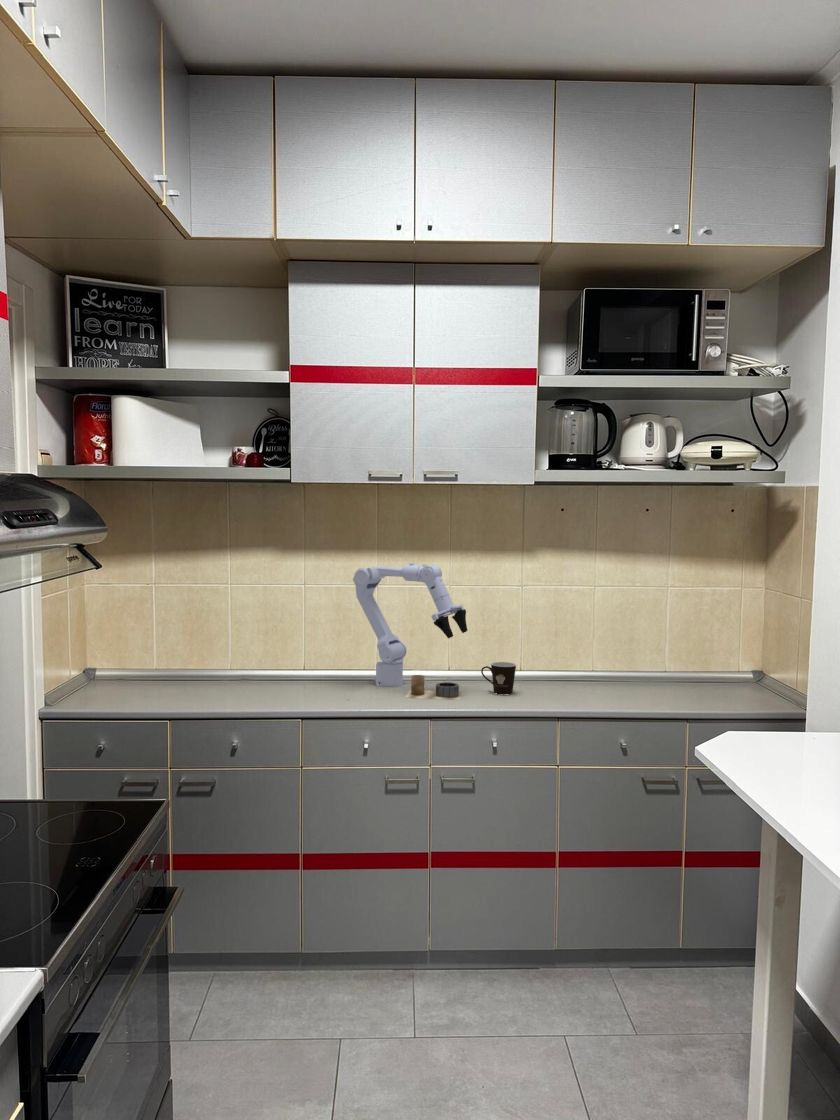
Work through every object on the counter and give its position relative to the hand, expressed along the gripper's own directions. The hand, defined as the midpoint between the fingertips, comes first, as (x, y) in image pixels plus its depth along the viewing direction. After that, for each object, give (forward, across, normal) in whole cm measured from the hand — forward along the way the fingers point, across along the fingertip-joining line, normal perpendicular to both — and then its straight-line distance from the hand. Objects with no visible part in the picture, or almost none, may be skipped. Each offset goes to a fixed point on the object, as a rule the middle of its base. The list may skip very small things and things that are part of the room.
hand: (458, 634), depth 275 cm
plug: (+12, -14, +16) cm, 24 cm away
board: (+16, -10, +12) cm, 23 cm away
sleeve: (+18, -8, +9) cm, 22 cm away
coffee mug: (+24, +12, +4) cm, 27 cm away
